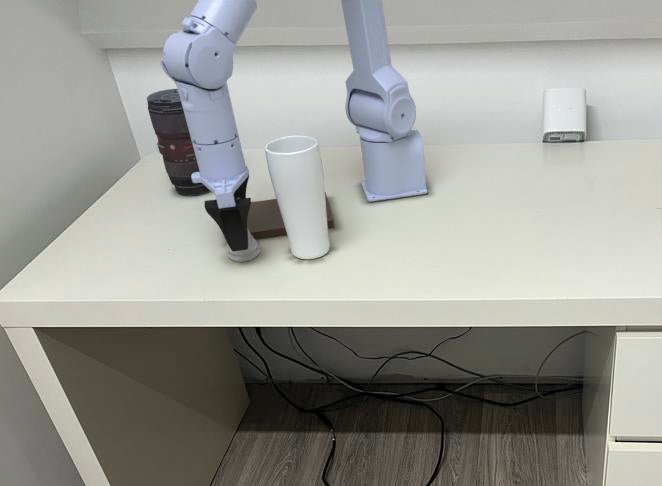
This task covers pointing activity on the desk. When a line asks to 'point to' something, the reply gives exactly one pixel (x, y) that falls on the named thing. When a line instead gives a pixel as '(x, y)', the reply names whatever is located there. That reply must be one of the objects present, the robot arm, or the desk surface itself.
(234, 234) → the robot arm
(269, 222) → the walnut board
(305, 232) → the drinking glass
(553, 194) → the desk surface
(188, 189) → the camera lens
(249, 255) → the rook chess piece
